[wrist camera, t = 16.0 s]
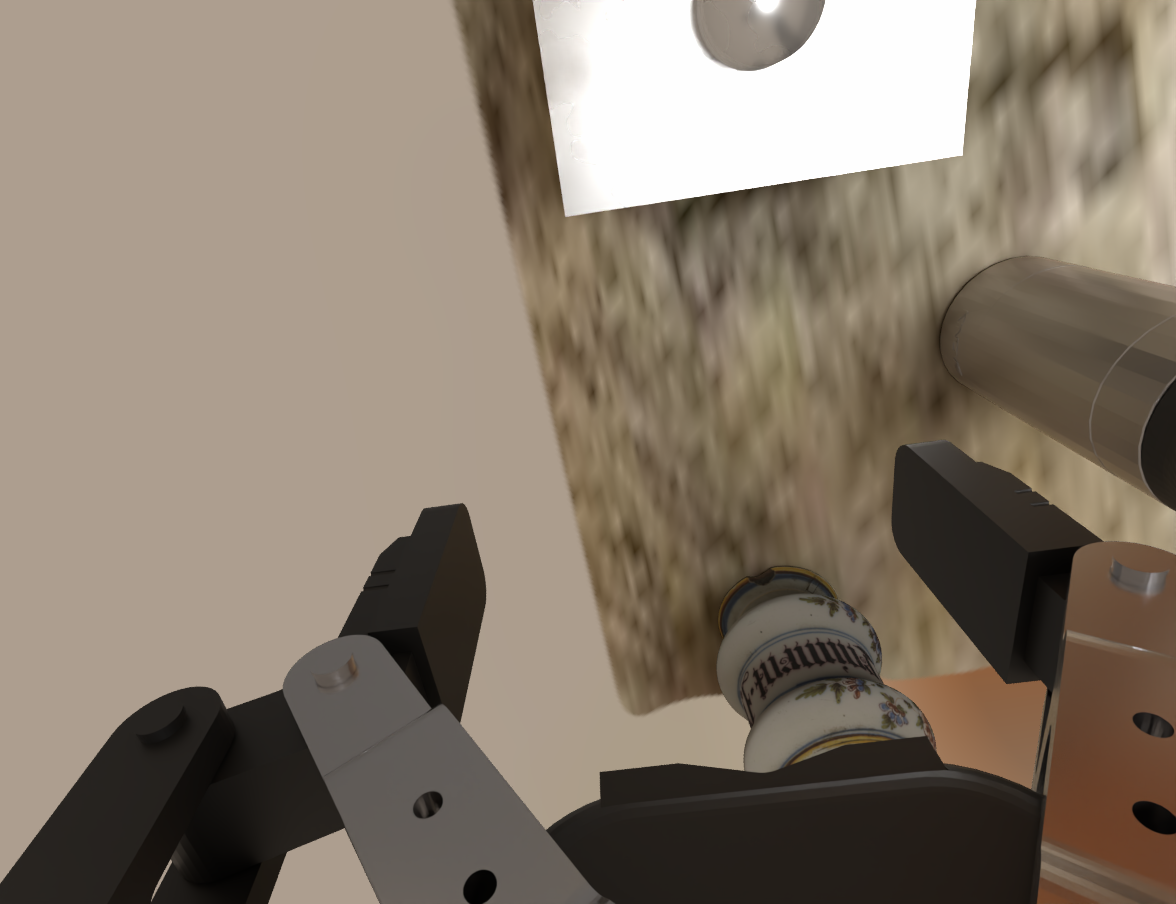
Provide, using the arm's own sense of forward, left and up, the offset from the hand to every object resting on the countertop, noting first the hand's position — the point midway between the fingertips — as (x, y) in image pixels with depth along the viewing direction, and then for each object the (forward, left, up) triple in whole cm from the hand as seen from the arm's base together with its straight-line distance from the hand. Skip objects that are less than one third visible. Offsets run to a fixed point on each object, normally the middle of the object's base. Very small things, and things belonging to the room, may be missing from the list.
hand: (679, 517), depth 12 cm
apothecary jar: (-10, +30, -32) cm, 45 cm away
